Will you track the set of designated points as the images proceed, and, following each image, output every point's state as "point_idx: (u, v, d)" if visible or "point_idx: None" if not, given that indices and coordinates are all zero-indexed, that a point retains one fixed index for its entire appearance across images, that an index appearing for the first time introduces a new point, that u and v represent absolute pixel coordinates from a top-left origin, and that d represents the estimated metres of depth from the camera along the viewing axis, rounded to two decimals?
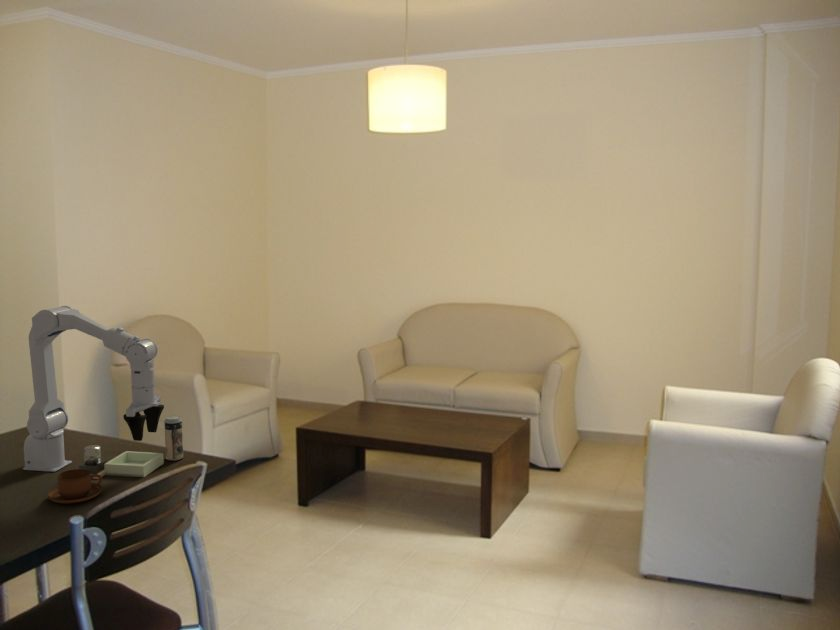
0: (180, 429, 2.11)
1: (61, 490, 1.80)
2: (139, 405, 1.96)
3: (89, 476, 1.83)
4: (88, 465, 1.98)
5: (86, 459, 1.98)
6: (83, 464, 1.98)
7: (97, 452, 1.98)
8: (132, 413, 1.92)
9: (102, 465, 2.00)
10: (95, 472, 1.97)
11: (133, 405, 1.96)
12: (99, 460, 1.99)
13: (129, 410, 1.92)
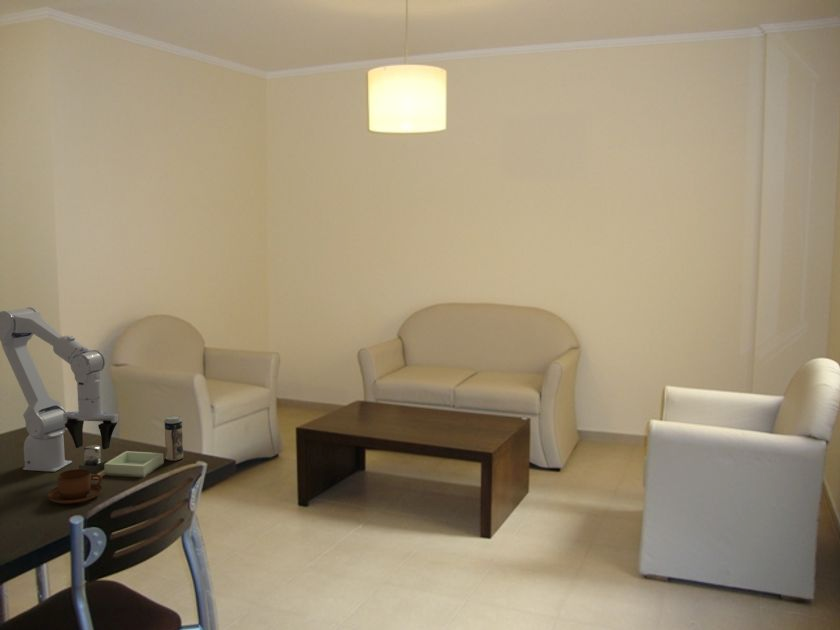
0: (180, 429, 2.11)
1: (61, 490, 1.80)
2: (79, 413, 1.98)
3: (89, 476, 1.83)
4: (88, 465, 1.98)
5: (86, 459, 1.98)
6: (83, 464, 1.98)
7: (97, 452, 1.98)
8: None
9: (102, 465, 2.00)
10: (95, 472, 1.97)
11: None
12: (99, 460, 1.99)
13: None
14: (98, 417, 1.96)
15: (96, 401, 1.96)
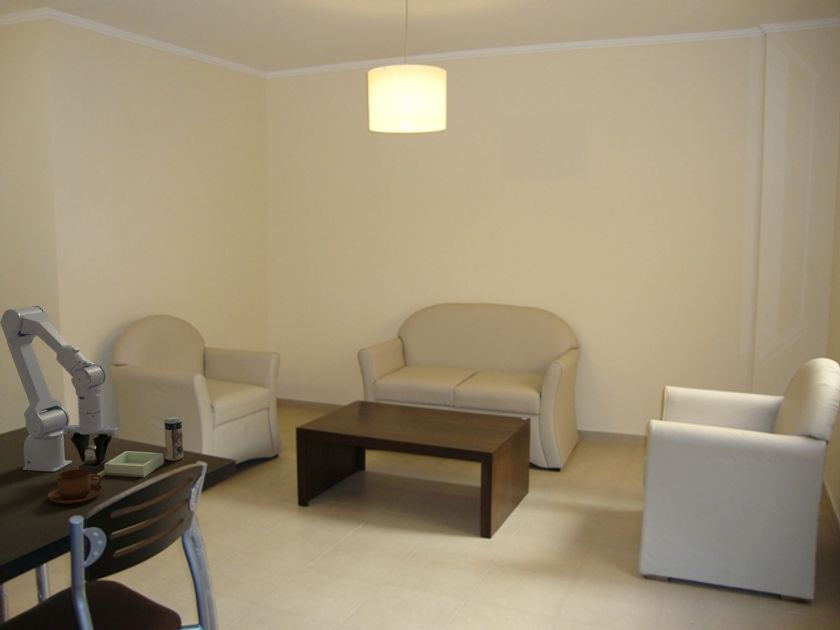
0: (180, 429, 2.11)
1: (61, 490, 1.80)
2: None
3: (89, 476, 1.83)
4: (88, 465, 1.98)
5: (86, 459, 1.98)
6: (83, 464, 1.98)
7: None
8: None
9: (102, 465, 2.00)
10: (95, 472, 1.97)
11: None
12: None
13: None
14: (99, 431, 1.96)
15: (97, 415, 1.97)
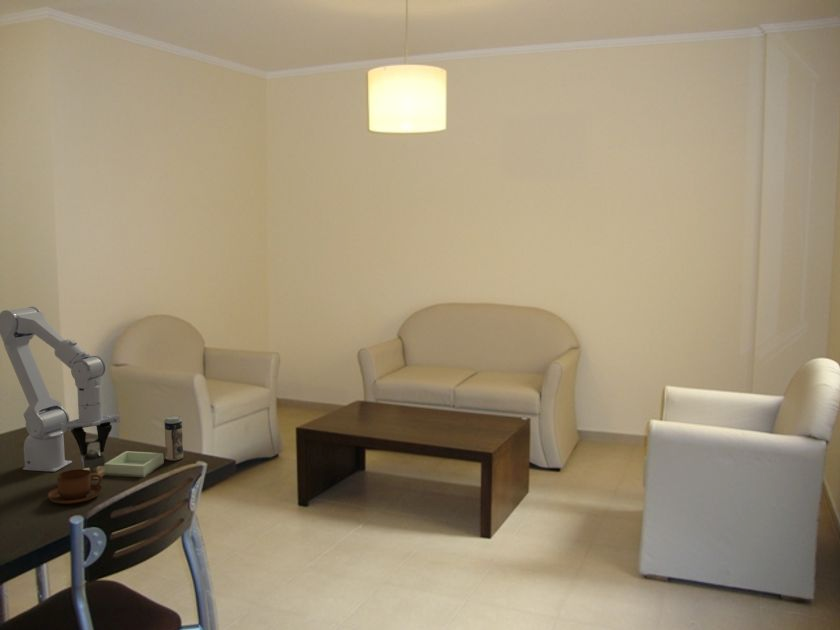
0: (180, 429, 2.11)
1: (61, 490, 1.80)
2: (79, 421, 1.96)
3: (89, 476, 1.83)
4: (94, 458, 1.98)
5: (91, 453, 1.97)
6: (86, 459, 1.97)
7: (100, 444, 1.99)
8: (62, 428, 1.93)
9: None
10: (102, 463, 1.99)
11: (78, 420, 1.98)
12: (100, 452, 2.00)
13: (61, 425, 1.94)
14: (106, 419, 1.99)
15: (101, 404, 1.99)
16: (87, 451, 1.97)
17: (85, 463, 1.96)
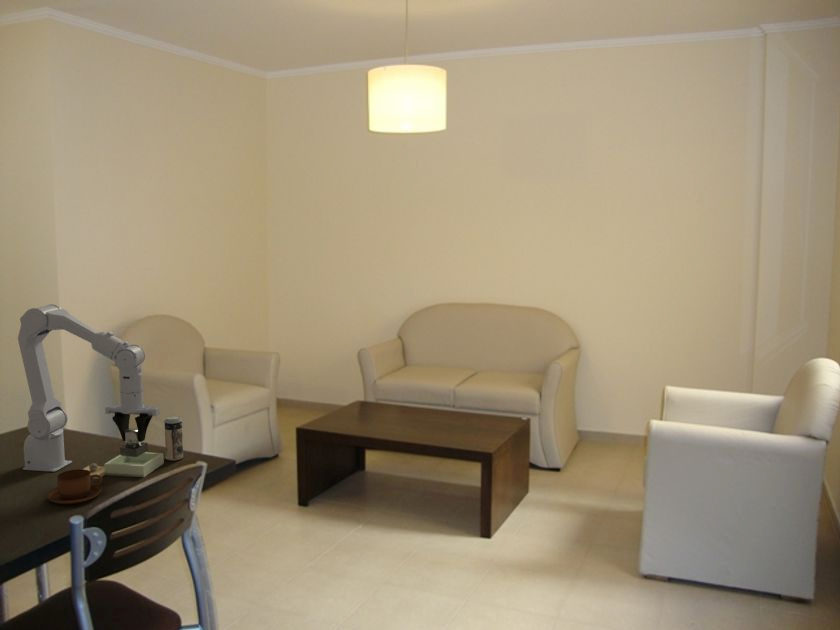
0: (180, 429, 2.11)
1: (61, 490, 1.80)
2: (121, 407, 2.02)
3: (89, 476, 1.83)
4: (128, 448, 2.01)
5: (126, 442, 2.01)
6: (124, 446, 2.02)
7: (136, 435, 2.01)
8: None
9: (142, 448, 2.03)
10: (134, 455, 2.00)
11: None
12: (139, 443, 2.02)
13: None
14: (140, 410, 1.99)
15: (138, 395, 2.00)
16: (125, 439, 2.02)
17: (121, 450, 2.01)
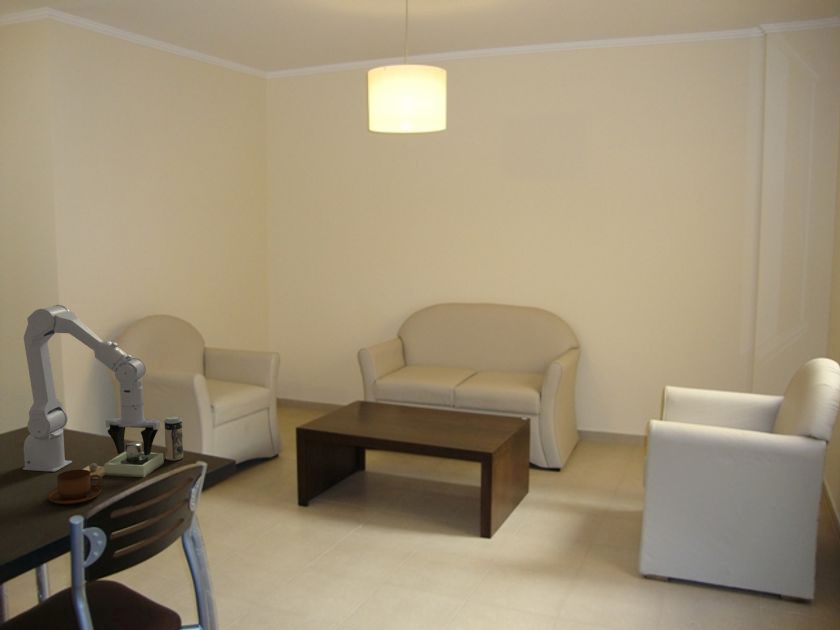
0: (180, 429, 2.11)
1: (61, 491, 1.80)
2: None
3: (89, 476, 1.82)
4: (129, 461, 2.01)
5: (127, 455, 2.02)
6: (124, 460, 2.02)
7: (138, 449, 2.02)
8: None
9: (143, 462, 2.03)
10: None
11: None
12: (140, 457, 2.03)
13: None
14: (140, 424, 2.00)
15: (139, 408, 2.00)
16: (126, 453, 2.02)
17: None
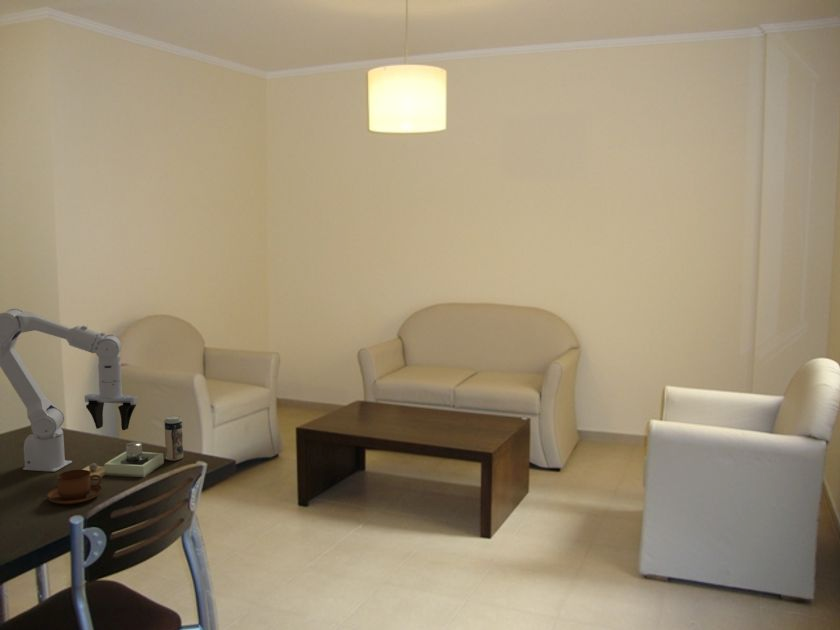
0: (180, 429, 2.11)
1: (60, 491, 1.79)
2: (100, 395, 2.06)
3: (89, 477, 1.82)
4: (129, 461, 2.01)
5: (127, 455, 2.02)
6: (124, 460, 2.02)
7: (138, 449, 2.02)
8: None
9: (143, 462, 2.03)
10: None
11: None
12: (140, 457, 2.03)
13: None
14: (118, 399, 2.04)
15: (116, 384, 2.04)
16: (126, 453, 2.02)
17: None
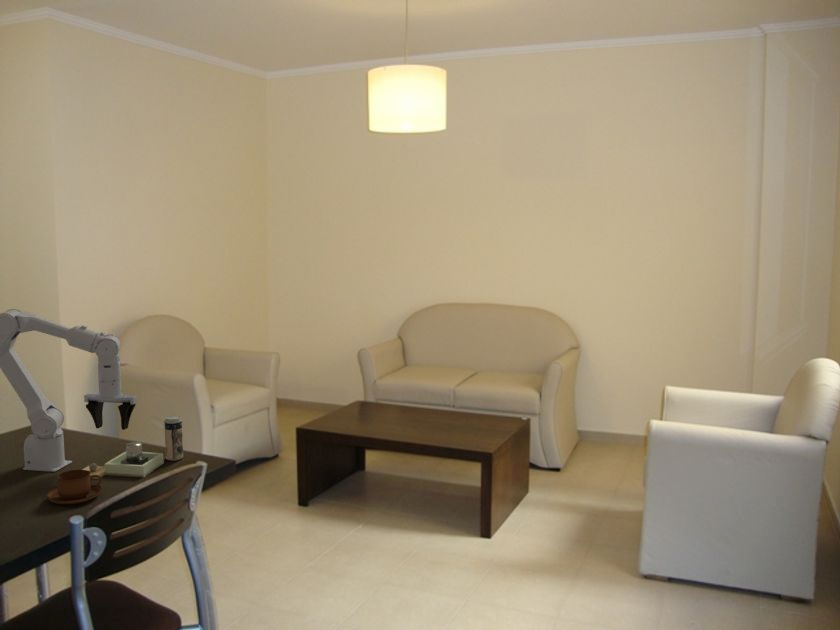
0: (180, 429, 2.11)
1: (60, 491, 1.79)
2: None
3: (88, 477, 1.82)
4: (129, 461, 2.01)
5: (127, 455, 2.02)
6: (124, 460, 2.02)
7: (138, 449, 2.02)
8: None
9: (143, 462, 2.03)
10: None
11: None
12: (140, 457, 2.03)
13: None
14: (118, 399, 2.04)
15: (116, 383, 2.04)
16: (126, 453, 2.02)
17: None
